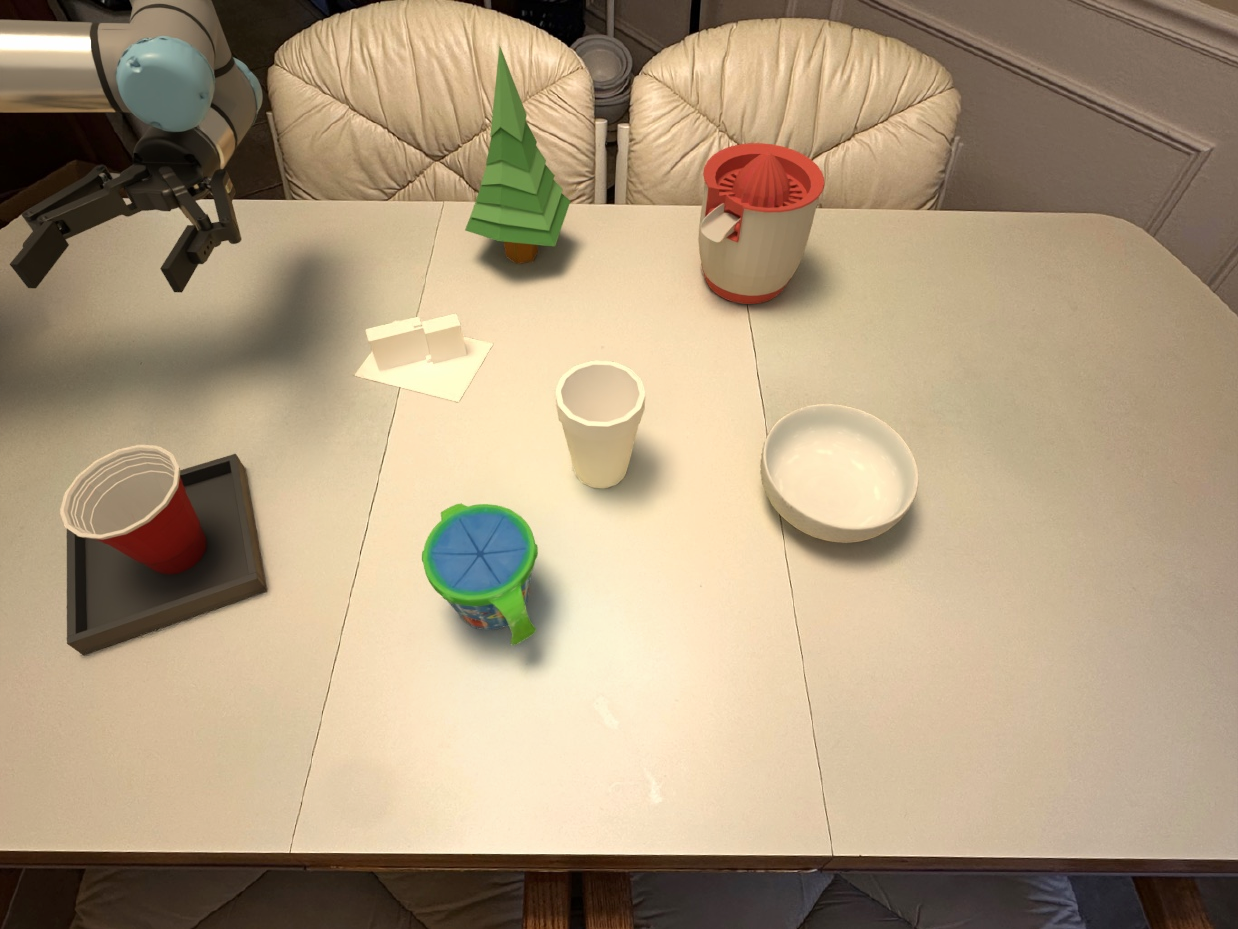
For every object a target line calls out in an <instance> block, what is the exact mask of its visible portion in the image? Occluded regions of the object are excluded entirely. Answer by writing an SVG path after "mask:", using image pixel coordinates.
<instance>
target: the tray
mask: <svg viewBox="0 0 1238 929" xmlns="http://www.w3.org/2000/svg"><path fill="white" fill-rule="evenodd" d="M247 477H248V476H247V471H246V467H245V465H244V464H243V462H242V460H241V459H240V458H239V457H238V455H237V453H233V454H229V455H226V456H223V457H219V458H217V459H213V460H210V461H206V462H203V463H200V464H195V465H193V466H190V467H185V468H183V469H180V478H181V480H182V483H183V486H184V488H185V492H186V494H187V496H188V498H189V500H190V502H191V505H192V507H193V509H194V511H195V513H196V515H197V517H198V519H199V521H200V526H201V528H202V530H203V532H204V535H205V537H206V541H207V542H206V551H205V552H204V554H203V556H202V558H201V559H200V560H199V561H198V562H197V563H196V564H195V565H194V566H193V567H191V568H189V569H187V570H185V571H183V572H181V573H176V574H171V575H170V574H163V573H159V572H156V571H154V570H153V569H151V568H149V567H148V566H146V565H145V564H143V563H139V562H137V561H136V560H134V559H132V558H131V557H129V556H127V555H125V554H124V553H122V552H120V551H119V550H117V549H115V548H113V547H112V546H110V545H108V544H104V543H103V542H101V541H98V540H95V539H91V538H82V537H79V536H77V535H76V534H74V533H73V532H72V531H70V530H69V529H67V528H66V644H67V646H69V647H71V648H73V649H74V650H75V651H76V652H78V653H79V654H81V656H85V655H89V654H91V653H93V652H96V651H97V652H98V651H99V650H102V649H105V648H108V647H111V646H114V645H117V644H120V643H123V642H125V641H128V640H131V639H134V638H136V637H137V638H138V637H140V636H143V635H145V634H148V633H151V632H154V631H157V630H160V629H162V628H165V627H167V626H172V625H174V624H176V623H179V622H183V621H185V620H189V619H191V618H194V617H198V616H200V615H203V614H205V613H208V612H211V611H214V610H216V609H219V608H222V607H225V606H228V605H231V604H234V603H236V602H240V601H243V600H245V599H249V598H252V597H255V596H257V595H260V594H263V593H265V592H268V587H267V581H266V576H265V570H264V564H263V560H262V553H261V548H260V542H259V538H258V532H257V526H256V521H255V515H254V514H255V513H254V508H253V504H252V498H251V493H250V487H249V481H248V478H247Z"/></svg>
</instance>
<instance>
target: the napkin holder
mask: <svg viewBox="0 0 1238 929" xmlns="http://www.w3.org/2000/svg"><path fill="white" fill-rule="evenodd" d="M365 333H366V337H367V340H368V344H369V347H370V349H371V352H370V353H369V354H368V356H367V357H366V358H365V360H364V361H363V362H362V364H361V365H360V367H359V368H358V369H357V371H356V372H355V374H354V377H358V378H362V379H366V380H368V381H374V382H378V383H382V384H385V385H388V386H389V385H390V386H393V387H397V388H401V389H405V390H409V391H413V392H417V393H421V394H425V395H429V396H432V397H437V398H441V399H445V400H449V401H453V402H456V403H459V402H460V401H461V399H462V397H463V395H464V394H465V392H466V391H467V389H468V387H469V386H470V384H471V382H472V380H473V379H474V377H476V374H477V372H478V371H479V369H480V367H481V366H482V364H483V362H484V361H485V359H486V358H487V355H488V354H489V352H490V351H491V349H492V347H493V345H494V343H492V342H488V341H485V340H479V339H475V338H471V337H467V336H464V335H463V329H462V325H461V321H460V319H459V317H458V315H457V313H451V314H448V315H444V316H440V317H436V318H432V319H427V320H424V321H421V317H420V316H415V317H411V318H406V319H401V320H393V322H389V323H386V324H382V325H378V326H374V327H369V328H366V329H365Z"/></svg>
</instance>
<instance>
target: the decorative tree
mask: <svg viewBox="0 0 1238 929" xmlns="http://www.w3.org/2000/svg"><path fill="white" fill-rule="evenodd" d="M492 104H493V105H492V115H491V124H490V134H489V138H490V141H489V146H488V151H487V152H488V153H487V156H486V157H487V158H486V161H485V169H484V172H483V176H482V179H481V183H480V187H479V190H478V192H477V195H476V199H475V202H474V204H473V205H474V206H473V208H472V210H471V213H470V216H469V219H468V220H467V224H466V226H465V229H464V231H465V232H468V233H469V232H470V233H472V234H475V235H478V236H481V237H483V238H484V237H485V238H488V239H491V240H493V241H496V242H503V245H504V246H503V247H504V252H505V253H504V254H505V257H506V258H507V259H509V260H510V261H512V262H513V263H515V264H516V265H521V264H524V263H525V264H527V263H531V262H532V263H533V262H534V260H535V259H536V256H537V254H538V253H539V246H545V247H556V245H557V242H558V239H559V236H560V234H561V230H562V227H563V225H564V222H565V218H566V215H567V213H568V211H569V207H570V205H571V200H570V198H568V197H567V196H566V195H565V194H564V193H563V190H564V189H563V187H561V185H560V184H559V183H558V182H557V181H556V180H554V179H555V177H556V176H555V174H554V173H553V172H552V171H551V169H550V167H548V165H547V164H546V162H547V159H546V158H545V156H544V154H542V152H541V151H540V149H539V147H538V146H537V143H538V141H537V139H536V137H535V136H534V133H533V132H532V129H531V127H530V125H529V124H528V122H527V116H528V115H527V112H526V110H525V107H524V104H523V102H522V99H521V96H520V94H519V91H518V88H517V86H516V83H515V81H514V78H513V75H512V73H511V71H510V68H509V65H508V63H507V61H506V58H505V56H504V52H503V49H502V47H501V45H499V47H498V56H497V66H496V77H495V86H494V96H493V103H492Z"/></svg>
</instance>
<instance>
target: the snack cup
mask: <svg viewBox="0 0 1238 929" xmlns="http://www.w3.org/2000/svg"><path fill="white" fill-rule="evenodd" d="M440 517H441V520H440V521H439V522H437V524H436V525H435V526H434V527H433V528H432V530H431V531H430V533H429V534H428V536H427V538H426V540H425V543H424V546H423V550H422V551H421V561H422V565H423V569H424V572H425V575H426V578H427V581H428V582H429V584H430V586H431V587H432V588H433V590H434V591H435V592H436V593H437V594H439V595H440V596H441V597H442V598H443V599H444V600H446V601H447V602H448V604H449V605H450V606H451V608H452V609H453V610H454V611H455V613H456V615H458V616H459V617H460V618H461V620H462V621H463V622H464V623H466V624H467V625H469V626H470V627H472V628H475V629H477V630H478V629H479V630H497V629H498V630H499V629H501V628H502V629H503V628H504V627H509V629H510V630H509V631H510V632H511V637H510V641H509V642H510V645H511V646H516V645H518V644H521V643H522V642H524V641H525V640H528V639H529V638H530V637H531V636H533V635H534V634H535V633H536V632H537V628H536V626H534V624H533V623H532V622H531V619H530V617H529V614H528V610H527V607H526V606H527V603H528V600H529V595H530V590H531V580H532V579H531V578H532V572H533V570H534V567H535V563H536V560H537V558H538V552H539V550H538V549H539V548H538V544H537V543H536V540H535V536H534V534H533V531H532V529H531V526H530V525H529V523H528V522H527V521H526V520H525V519H524V518H523V517H522V516H521V515H519V513H517V512H515V511H514V510H512V509H510V508H507V507H505V506H501V505H497V504H488V503H484V504H483V503H482V504H481V503H480V504H472V505H465V504H463V503H462V502H461V503H457V504H454V505H452V506H449V507H447V508H445V509H444V510H442V511H441V512H440Z"/></svg>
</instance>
